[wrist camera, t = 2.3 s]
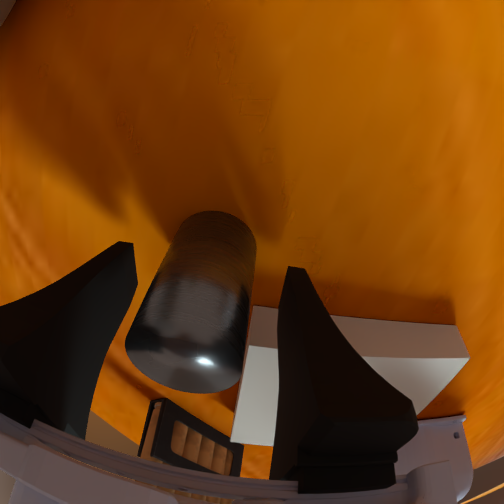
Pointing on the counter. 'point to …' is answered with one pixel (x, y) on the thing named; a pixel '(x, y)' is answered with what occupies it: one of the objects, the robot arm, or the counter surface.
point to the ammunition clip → (187, 445)
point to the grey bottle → (5, 9)
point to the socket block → (368, 347)
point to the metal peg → (197, 307)
